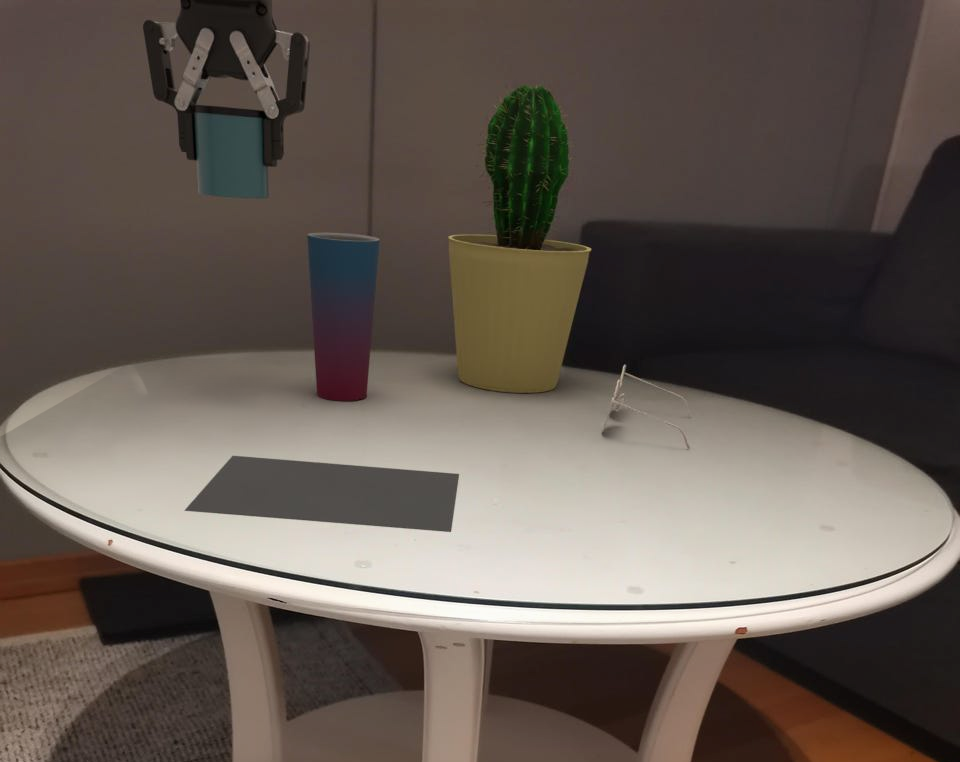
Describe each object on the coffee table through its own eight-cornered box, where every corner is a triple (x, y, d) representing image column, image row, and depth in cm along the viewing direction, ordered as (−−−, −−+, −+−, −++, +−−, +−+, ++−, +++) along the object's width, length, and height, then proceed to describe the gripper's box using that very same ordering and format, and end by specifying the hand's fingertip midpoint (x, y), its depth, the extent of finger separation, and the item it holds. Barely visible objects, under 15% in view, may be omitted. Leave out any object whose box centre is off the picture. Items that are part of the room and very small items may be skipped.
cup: (318, 404, 95) (318, 239, 88) (300, 387, 100) (299, 231, 94) (384, 402, 98) (389, 242, 91) (363, 386, 103) (366, 234, 96)
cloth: (184, 515, 66) (184, 510, 65) (232, 460, 77) (232, 455, 77) (450, 536, 66) (451, 531, 66) (458, 478, 77) (459, 473, 77)
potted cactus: (583, 376, 116) (618, 89, 103) (564, 404, 103) (601, 78, 89) (458, 361, 119) (477, 79, 105) (424, 386, 105) (439, 66, 92)
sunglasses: (611, 406, 104) (625, 360, 101) (687, 429, 103) (703, 383, 101) (598, 439, 91) (614, 387, 89) (685, 464, 91) (703, 413, 88)
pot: (189, 193, 86) (183, 103, 82) (223, 189, 96) (219, 108, 93) (260, 199, 86) (258, 109, 83) (287, 194, 96) (285, 113, 93)
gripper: (319, -48, 83) (319, 169, 91) (151, -62, 83) (165, 156, 91) (303, -65, 76) (304, 171, 84) (120, -81, 76) (137, 156, 84)
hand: (232, 162), depth 87 cm, fingers closed on pot, 6 cm apart
